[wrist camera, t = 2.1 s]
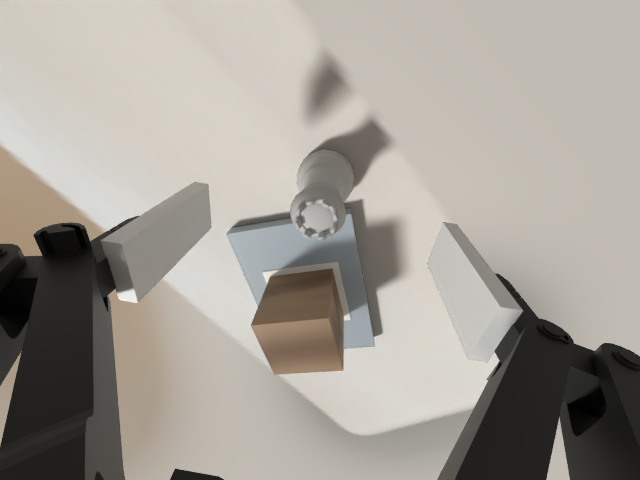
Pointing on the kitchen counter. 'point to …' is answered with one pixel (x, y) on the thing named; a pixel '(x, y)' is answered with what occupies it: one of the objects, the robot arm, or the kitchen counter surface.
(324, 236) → the rook chess piece
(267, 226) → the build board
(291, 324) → the walnut cube
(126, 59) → the kitchen counter surface
